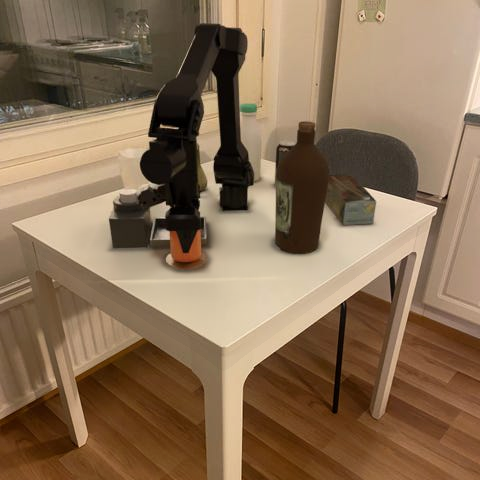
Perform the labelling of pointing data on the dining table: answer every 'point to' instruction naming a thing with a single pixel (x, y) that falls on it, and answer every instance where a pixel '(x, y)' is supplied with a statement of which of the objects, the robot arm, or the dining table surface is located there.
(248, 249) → the dining table surface
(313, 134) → the olive oil
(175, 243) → the orange cup
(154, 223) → the drip tray
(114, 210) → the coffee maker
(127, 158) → the cup
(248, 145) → the milk bottle
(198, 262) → the cork coaster
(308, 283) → the dining table surface
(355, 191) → the beverage carton
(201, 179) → the green gourd vase
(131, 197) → the button
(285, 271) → the dining table surface
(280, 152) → the beverage can
